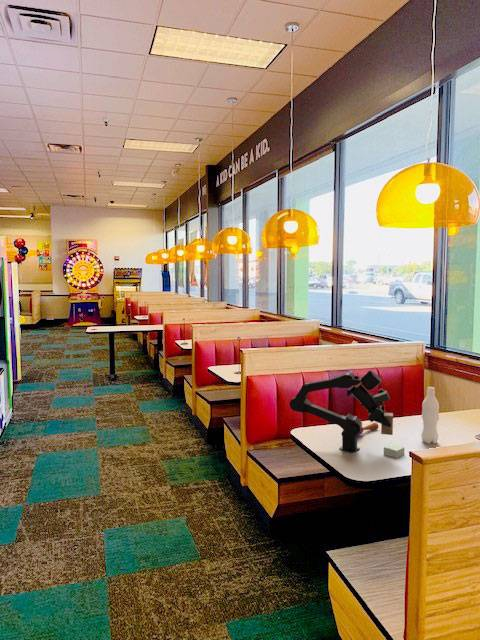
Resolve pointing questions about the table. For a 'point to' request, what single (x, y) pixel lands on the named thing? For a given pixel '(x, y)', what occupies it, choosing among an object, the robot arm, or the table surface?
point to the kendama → (368, 428)
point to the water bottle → (430, 417)
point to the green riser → (394, 450)
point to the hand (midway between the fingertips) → (390, 424)
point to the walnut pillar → (384, 428)
